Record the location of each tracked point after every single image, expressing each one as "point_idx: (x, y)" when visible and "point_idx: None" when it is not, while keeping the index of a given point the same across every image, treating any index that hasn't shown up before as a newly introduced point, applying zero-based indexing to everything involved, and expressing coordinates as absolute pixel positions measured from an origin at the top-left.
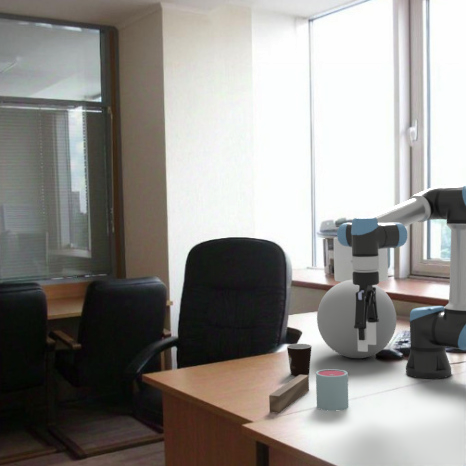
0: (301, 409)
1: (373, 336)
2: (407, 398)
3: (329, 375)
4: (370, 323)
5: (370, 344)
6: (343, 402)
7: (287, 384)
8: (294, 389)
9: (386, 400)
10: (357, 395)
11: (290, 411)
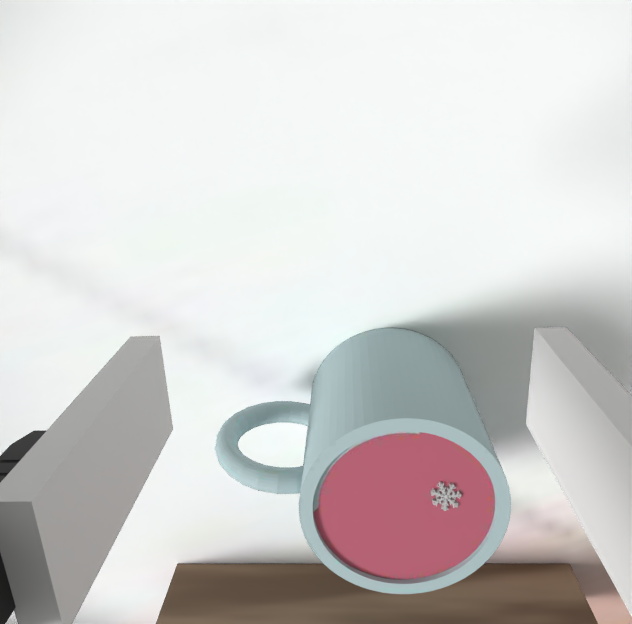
0: None
1: (130, 406)
2: (77, 73)
3: (456, 506)
4: (56, 568)
5: (167, 393)
6: (432, 352)
7: None
8: (374, 609)
9: (172, 179)
10: None
11: (525, 534)
